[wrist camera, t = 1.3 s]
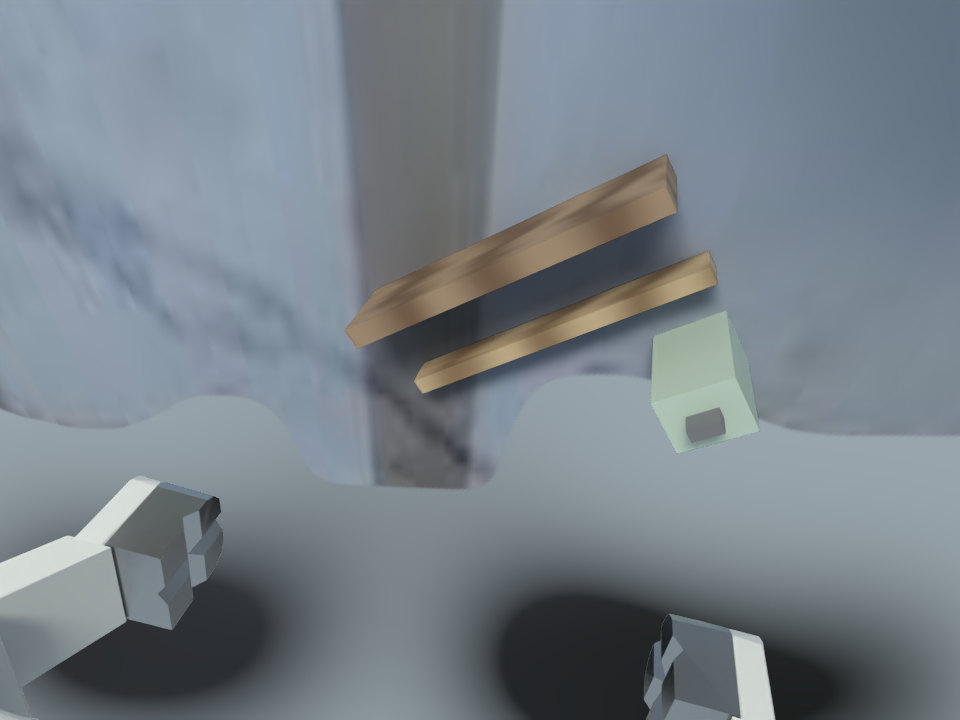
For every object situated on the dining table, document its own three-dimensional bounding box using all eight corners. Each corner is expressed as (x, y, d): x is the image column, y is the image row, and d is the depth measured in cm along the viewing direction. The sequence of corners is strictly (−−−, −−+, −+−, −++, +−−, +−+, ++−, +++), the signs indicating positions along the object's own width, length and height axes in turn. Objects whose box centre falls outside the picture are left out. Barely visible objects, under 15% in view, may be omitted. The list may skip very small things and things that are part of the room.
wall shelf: (666, 154, 42) (665, 187, 37) (715, 266, 44) (721, 311, 40) (376, 290, 51) (344, 330, 46) (432, 375, 54) (408, 422, 49)
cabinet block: (726, 310, 46) (737, 392, 38) (747, 359, 47) (762, 447, 40) (653, 336, 48) (649, 418, 40) (676, 381, 50) (676, 469, 42)
